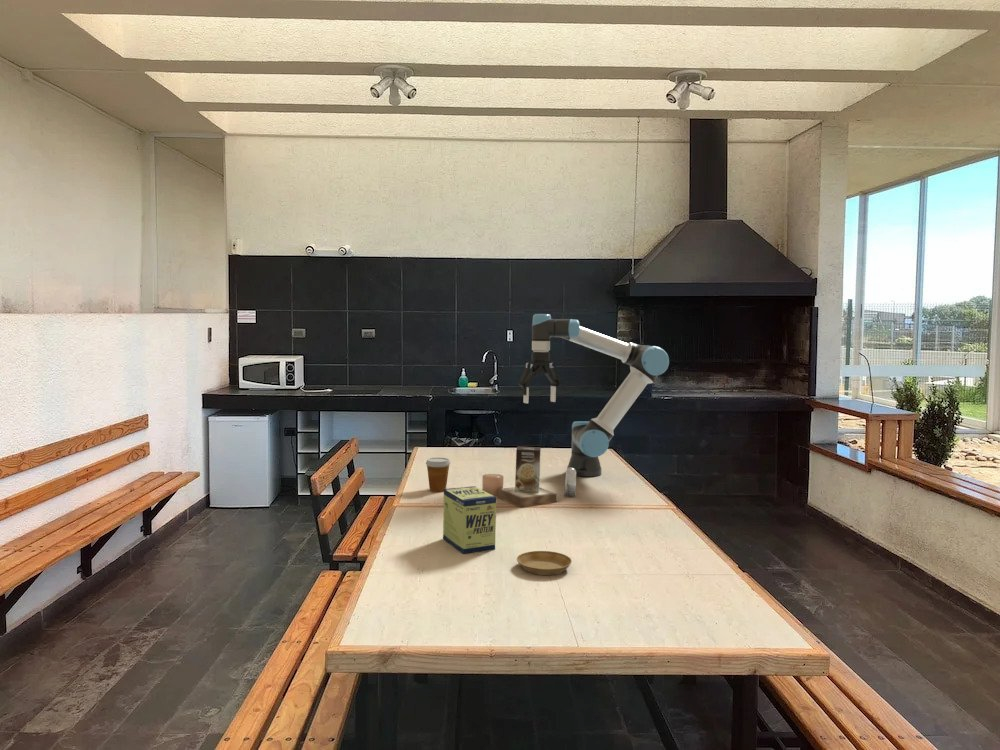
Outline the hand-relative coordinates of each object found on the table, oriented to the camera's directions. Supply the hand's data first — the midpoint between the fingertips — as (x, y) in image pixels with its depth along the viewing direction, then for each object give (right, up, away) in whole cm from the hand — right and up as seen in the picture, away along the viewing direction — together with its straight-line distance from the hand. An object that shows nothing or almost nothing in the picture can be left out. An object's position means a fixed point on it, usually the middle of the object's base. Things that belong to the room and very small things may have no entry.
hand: (539, 402), depth 290 cm
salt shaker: (+10, -35, -24) cm, 43 cm away
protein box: (-26, -39, -84) cm, 96 cm away
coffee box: (-6, -32, -30) cm, 44 cm away
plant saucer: (-5, -41, -103) cm, 111 cm away
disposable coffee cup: (-41, -34, -18) cm, 56 cm away
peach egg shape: (-19, -34, -23) cm, 45 cm away
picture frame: (-7, -35, -30) cm, 47 cm away
